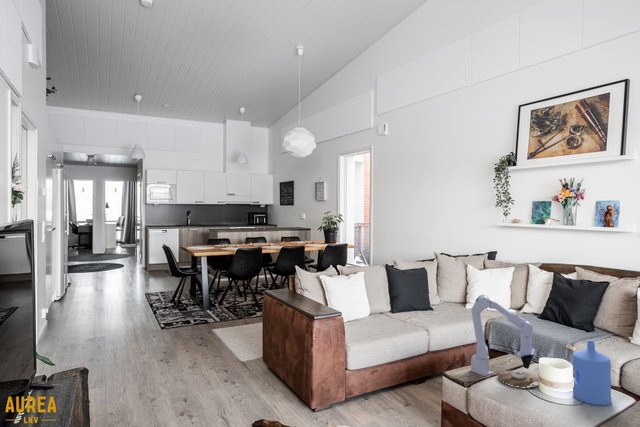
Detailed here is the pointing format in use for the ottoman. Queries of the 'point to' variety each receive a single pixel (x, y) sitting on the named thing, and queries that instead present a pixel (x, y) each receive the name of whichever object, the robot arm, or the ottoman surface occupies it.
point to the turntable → (506, 378)
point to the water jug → (592, 376)
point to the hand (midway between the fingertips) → (526, 367)
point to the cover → (518, 375)
